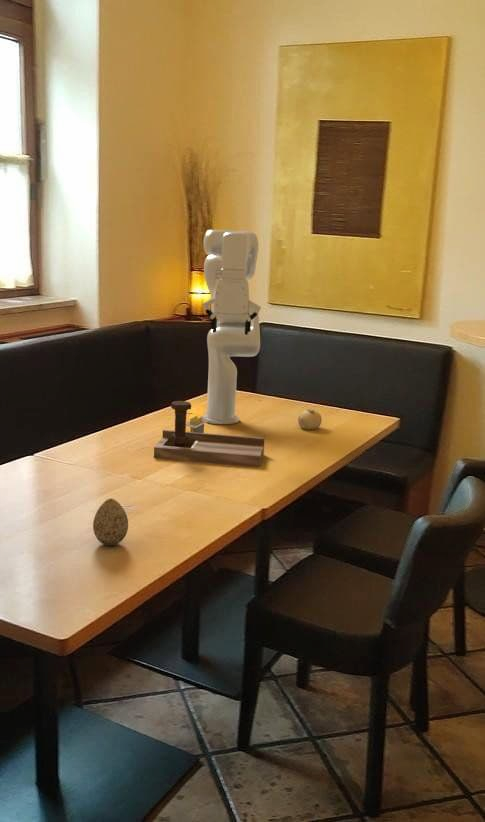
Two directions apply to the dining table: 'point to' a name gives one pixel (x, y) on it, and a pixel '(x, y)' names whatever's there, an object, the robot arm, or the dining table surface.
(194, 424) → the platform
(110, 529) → the decorative egg
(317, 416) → the onion
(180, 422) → the bolt
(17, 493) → the dining table surface
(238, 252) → the robot arm
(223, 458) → the brown wooden long tray
